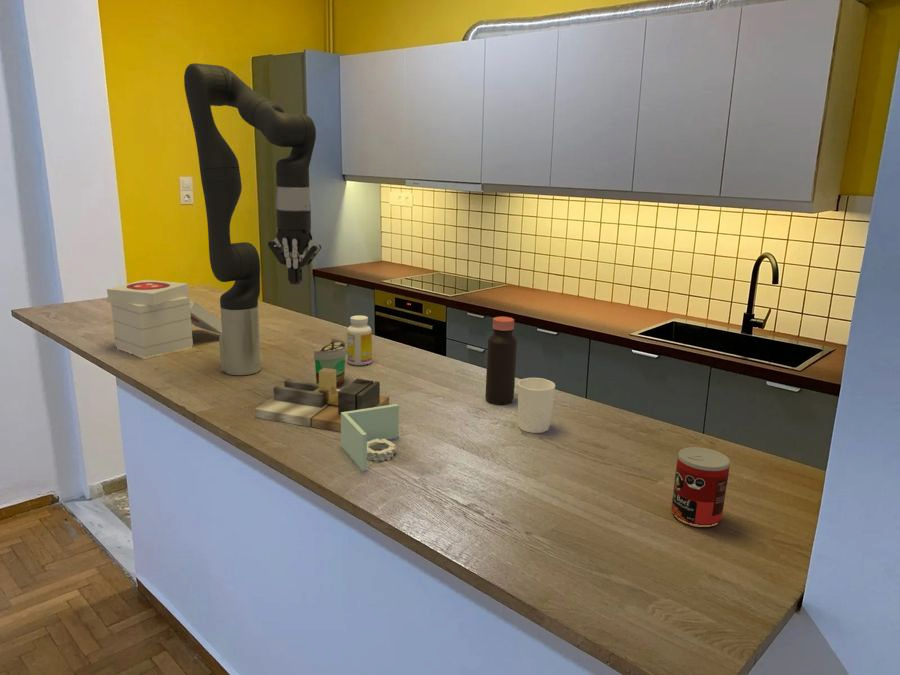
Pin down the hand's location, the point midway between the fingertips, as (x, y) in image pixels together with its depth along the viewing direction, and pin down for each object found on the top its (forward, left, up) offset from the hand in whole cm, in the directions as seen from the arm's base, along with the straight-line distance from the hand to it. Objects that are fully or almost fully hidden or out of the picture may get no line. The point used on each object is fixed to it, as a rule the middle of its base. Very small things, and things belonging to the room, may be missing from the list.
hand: (295, 283), depth 157 cm
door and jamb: (+11, -8, -27) cm, 30 cm away
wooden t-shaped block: (+15, -8, -24) cm, 30 cm away
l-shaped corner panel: (+31, -23, -27) cm, 47 cm away
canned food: (+90, -26, -27) cm, 97 cm away
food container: (+5, +9, -27) cm, 29 cm away
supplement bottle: (+3, +27, -27) cm, 38 cm away
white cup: (+57, +1, -27) cm, 63 cm away
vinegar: (+46, +14, -27) cm, 55 cm away
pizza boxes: (-55, +21, -27) cm, 64 cm away
